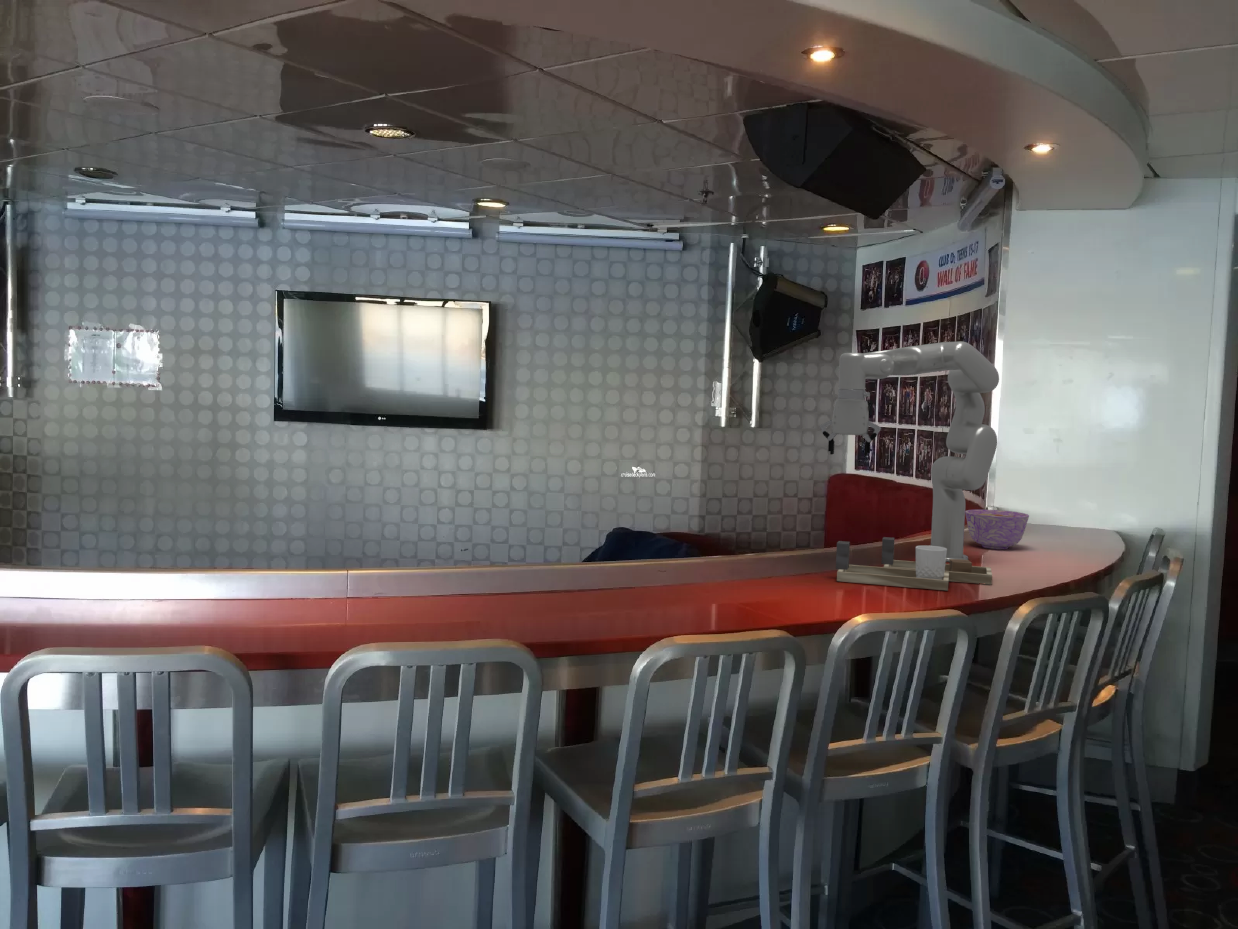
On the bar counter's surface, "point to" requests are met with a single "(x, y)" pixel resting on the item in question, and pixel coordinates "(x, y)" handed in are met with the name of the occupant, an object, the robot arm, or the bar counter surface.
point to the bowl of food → (996, 527)
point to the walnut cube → (960, 565)
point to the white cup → (930, 562)
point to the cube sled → (975, 576)
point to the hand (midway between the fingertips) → (848, 454)
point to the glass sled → (882, 573)
